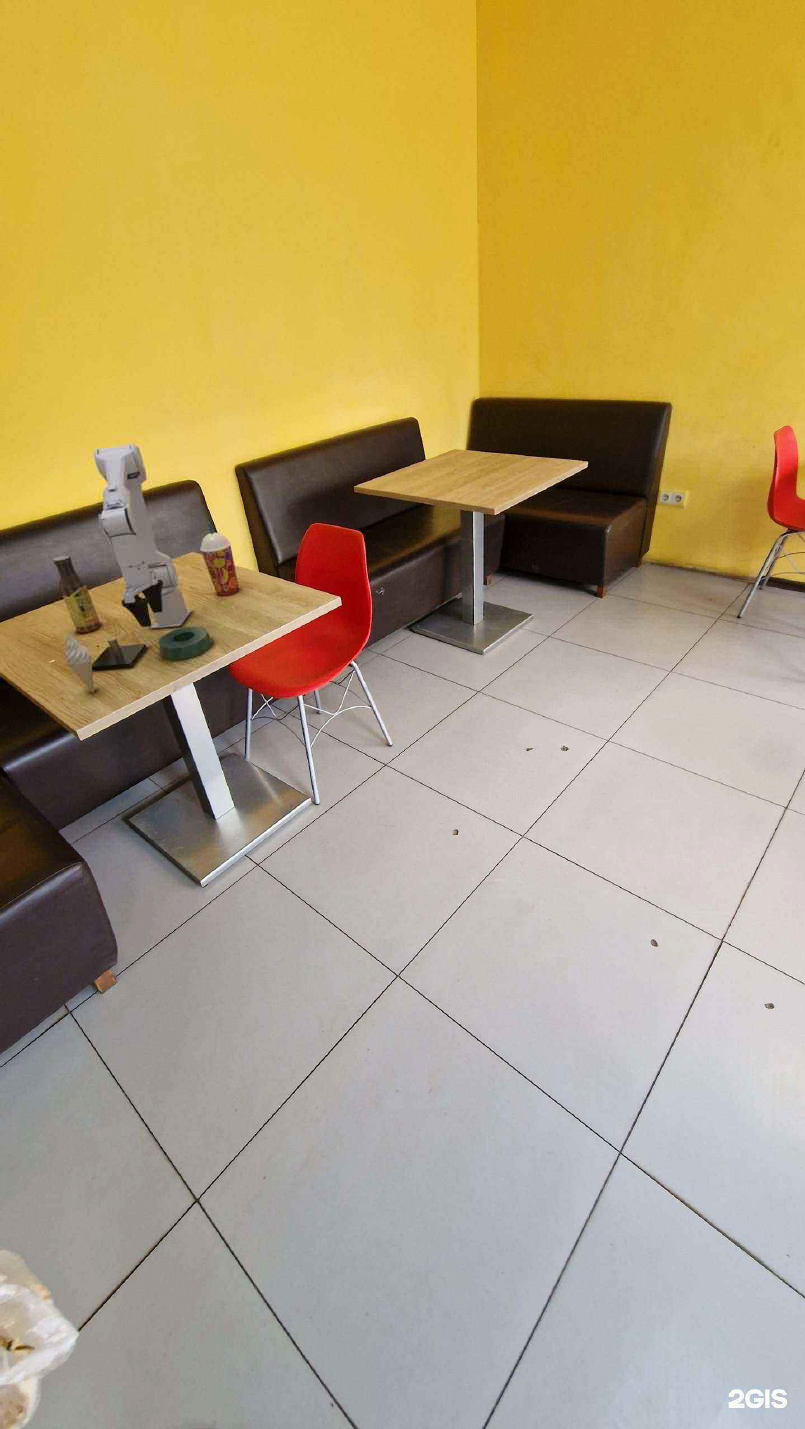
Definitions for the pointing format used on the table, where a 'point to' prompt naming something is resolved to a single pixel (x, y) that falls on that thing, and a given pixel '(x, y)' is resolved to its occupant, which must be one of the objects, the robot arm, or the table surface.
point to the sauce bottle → (76, 596)
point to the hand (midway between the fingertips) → (152, 618)
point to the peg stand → (118, 656)
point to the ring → (185, 643)
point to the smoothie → (219, 562)
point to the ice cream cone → (79, 661)
